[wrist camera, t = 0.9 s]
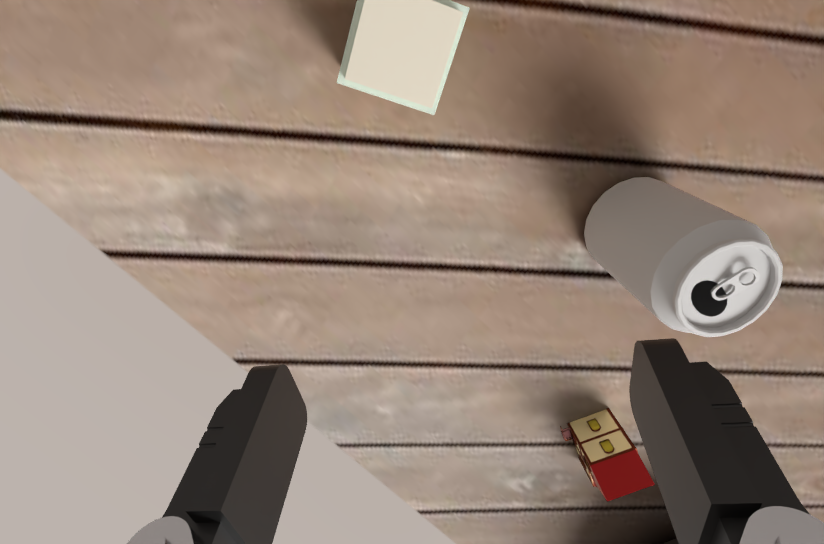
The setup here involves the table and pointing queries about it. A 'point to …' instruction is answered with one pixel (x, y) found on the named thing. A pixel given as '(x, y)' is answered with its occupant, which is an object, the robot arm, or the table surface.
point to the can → (683, 256)
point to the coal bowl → (672, 542)
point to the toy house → (608, 455)
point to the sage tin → (402, 49)
